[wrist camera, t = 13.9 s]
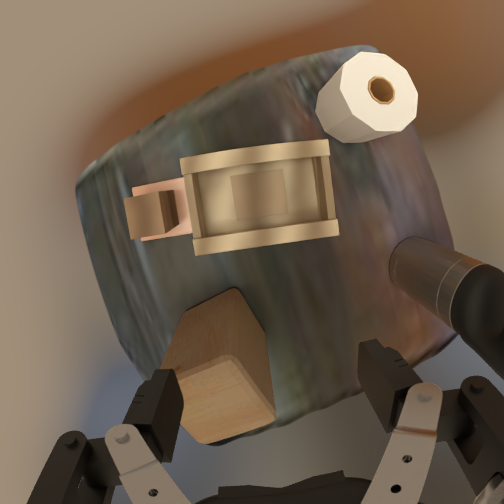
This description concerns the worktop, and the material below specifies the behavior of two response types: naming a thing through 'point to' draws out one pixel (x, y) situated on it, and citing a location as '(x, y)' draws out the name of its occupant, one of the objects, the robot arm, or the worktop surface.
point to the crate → (260, 196)
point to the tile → (181, 205)
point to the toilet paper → (367, 99)
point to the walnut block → (151, 214)
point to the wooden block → (221, 369)
